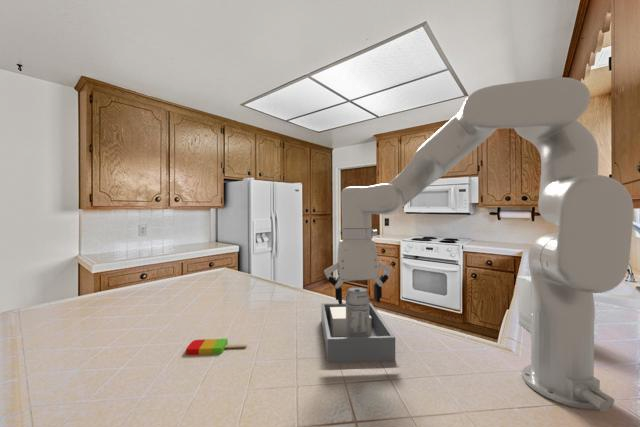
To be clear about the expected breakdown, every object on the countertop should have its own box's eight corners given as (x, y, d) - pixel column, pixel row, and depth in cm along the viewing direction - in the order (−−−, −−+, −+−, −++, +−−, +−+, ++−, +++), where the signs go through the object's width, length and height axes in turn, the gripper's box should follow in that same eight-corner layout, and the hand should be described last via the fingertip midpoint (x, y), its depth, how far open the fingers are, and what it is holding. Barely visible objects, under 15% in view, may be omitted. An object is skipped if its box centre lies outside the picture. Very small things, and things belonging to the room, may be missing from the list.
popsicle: (192, 346, 74) (192, 339, 74) (248, 343, 75) (248, 337, 75) (184, 357, 68) (184, 349, 68) (244, 354, 69) (244, 347, 69)
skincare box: (557, 336, 78) (557, 282, 77) (530, 334, 79) (531, 281, 79) (539, 324, 86) (540, 275, 86) (516, 322, 87) (516, 274, 87)
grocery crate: (395, 364, 64) (395, 337, 64) (327, 367, 63) (327, 339, 63) (370, 322, 88) (370, 302, 88) (321, 323, 87) (321, 303, 87)
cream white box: (371, 335, 76) (371, 317, 76) (332, 336, 76) (332, 318, 76) (364, 322, 85) (364, 306, 85) (329, 323, 85) (329, 307, 85)
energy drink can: (371, 344, 71) (371, 287, 71) (367, 355, 66) (367, 294, 66) (348, 340, 74) (348, 285, 73) (343, 351, 68) (343, 291, 68)
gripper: (385, 232, 73) (387, 295, 74) (322, 234, 73) (324, 298, 73) (394, 235, 66) (396, 305, 66) (324, 237, 65) (326, 308, 65)
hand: (358, 301), depth 69 cm, fingers open, 9 cm apart
